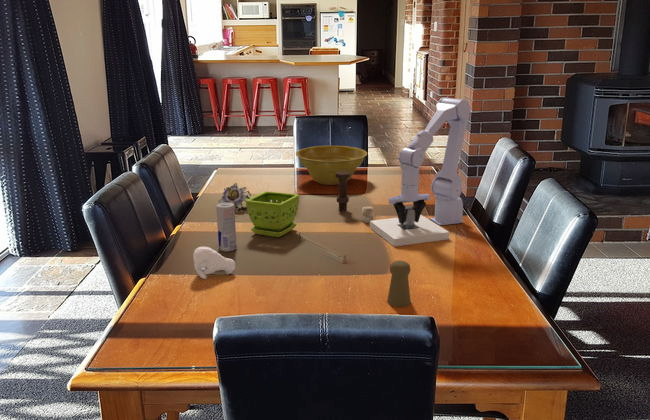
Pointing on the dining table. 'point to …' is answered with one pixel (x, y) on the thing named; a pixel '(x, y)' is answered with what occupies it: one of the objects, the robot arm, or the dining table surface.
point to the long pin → (409, 218)
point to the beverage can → (226, 226)
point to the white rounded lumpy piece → (211, 262)
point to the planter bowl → (330, 161)
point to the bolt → (342, 190)
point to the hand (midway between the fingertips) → (408, 222)
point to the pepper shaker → (399, 284)
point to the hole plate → (409, 231)
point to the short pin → (367, 214)
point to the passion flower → (235, 195)
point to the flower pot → (273, 213)
